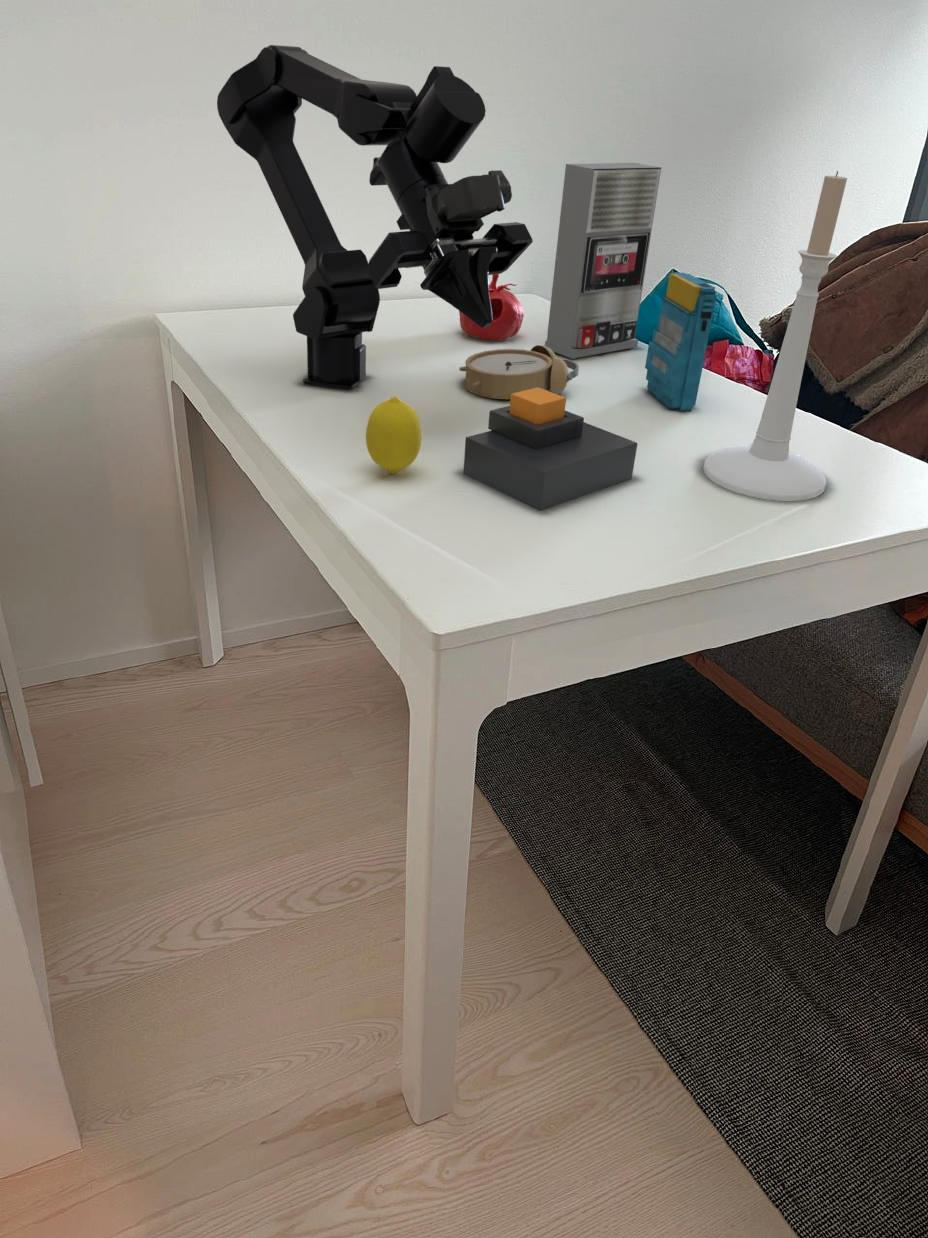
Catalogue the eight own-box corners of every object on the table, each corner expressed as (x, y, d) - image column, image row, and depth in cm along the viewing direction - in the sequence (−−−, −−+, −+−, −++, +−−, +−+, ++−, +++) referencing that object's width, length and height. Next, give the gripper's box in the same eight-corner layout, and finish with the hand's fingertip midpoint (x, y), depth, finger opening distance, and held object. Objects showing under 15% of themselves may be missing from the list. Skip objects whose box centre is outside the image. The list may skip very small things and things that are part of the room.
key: (508, 415, 97) (510, 393, 96) (535, 408, 99) (538, 386, 98) (536, 427, 94) (539, 404, 93) (563, 419, 97) (566, 397, 95)
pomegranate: (486, 323, 151) (491, 262, 146) (534, 338, 145) (540, 275, 140) (442, 332, 145) (446, 268, 140) (490, 347, 139) (495, 282, 134)
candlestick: (681, 474, 101) (742, 165, 85) (735, 445, 110) (799, 160, 94) (795, 512, 94) (883, 183, 79) (843, 478, 103) (930, 176, 87)
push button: (460, 472, 97) (463, 416, 94) (552, 445, 106) (558, 393, 103) (540, 511, 91) (547, 452, 87) (631, 478, 99) (641, 423, 96)
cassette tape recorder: (573, 360, 136) (597, 169, 123) (544, 350, 140) (564, 163, 127) (638, 349, 143) (666, 168, 131) (608, 339, 147) (634, 162, 134)
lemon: (399, 489, 93) (401, 410, 89) (354, 474, 95) (354, 397, 91) (430, 472, 97) (434, 396, 93) (386, 459, 99) (388, 384, 95)
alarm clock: (454, 353, 125) (562, 332, 127) (458, 389, 127) (564, 368, 129) (474, 379, 115) (591, 356, 117) (478, 417, 118) (592, 394, 120)
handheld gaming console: (698, 412, 119) (722, 289, 112) (667, 412, 118) (689, 288, 111) (667, 387, 127) (688, 271, 120) (639, 388, 126) (658, 271, 119)
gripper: (387, 139, 87) (461, 288, 86) (528, 138, 98) (595, 269, 97) (337, 218, 96) (404, 353, 95) (472, 209, 107) (532, 330, 106)
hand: (487, 325), depth 98 cm, fingers closed
